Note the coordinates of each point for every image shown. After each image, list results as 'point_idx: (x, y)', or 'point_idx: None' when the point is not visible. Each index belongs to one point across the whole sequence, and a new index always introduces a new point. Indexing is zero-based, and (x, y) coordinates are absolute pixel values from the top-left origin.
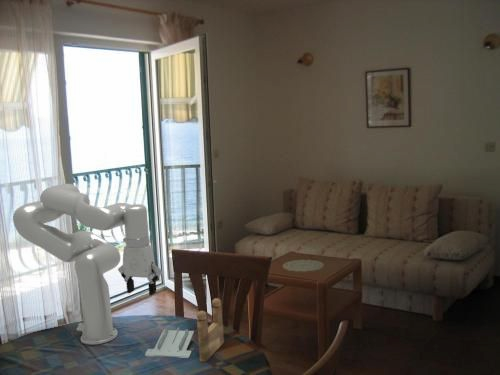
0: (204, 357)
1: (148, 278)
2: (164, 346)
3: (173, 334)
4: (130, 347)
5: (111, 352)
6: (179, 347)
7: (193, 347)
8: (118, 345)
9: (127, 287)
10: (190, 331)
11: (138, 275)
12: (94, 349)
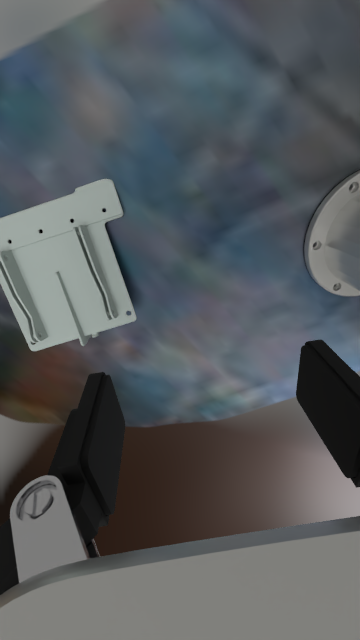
0: None
1: (59, 553)
2: (75, 248)
3: (86, 313)
4: (208, 214)
5: (252, 147)
6: (3, 253)
7: None
8: (261, 209)
9: (348, 372)
10: (41, 346)
11: (193, 592)
12: (334, 141)
